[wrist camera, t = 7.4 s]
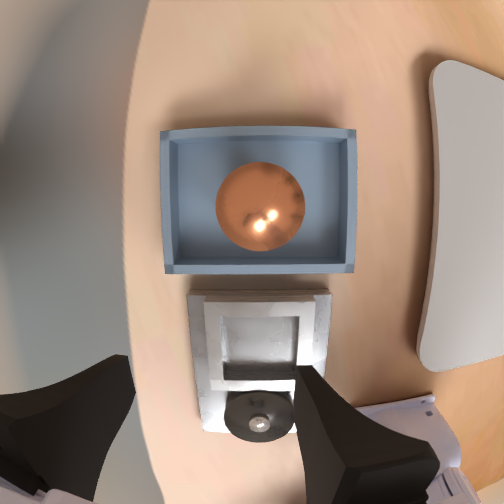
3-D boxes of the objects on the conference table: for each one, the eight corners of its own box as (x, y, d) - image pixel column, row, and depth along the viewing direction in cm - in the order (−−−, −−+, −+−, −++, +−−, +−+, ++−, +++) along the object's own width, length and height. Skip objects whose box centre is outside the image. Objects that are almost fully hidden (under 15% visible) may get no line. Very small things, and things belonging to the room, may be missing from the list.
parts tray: (345, 136, 19) (355, 129, 17) (343, 263, 21) (353, 272, 18) (171, 137, 19) (160, 131, 17) (175, 264, 21) (165, 273, 19)
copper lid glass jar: (290, 171, 19) (305, 162, 13) (289, 231, 20) (304, 251, 14) (228, 171, 19) (214, 162, 13) (229, 231, 20) (216, 251, 14)
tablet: (402, 363, 23) (411, 377, 21) (414, 60, 18) (426, 51, 16) (513, 339, 23) (525, 347, 20) (530, 104, 17) (543, 101, 15)
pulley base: (328, 288, 21) (339, 306, 18) (313, 422, 24) (319, 446, 21) (190, 289, 22) (179, 306, 18) (205, 422, 24) (199, 446, 21)
